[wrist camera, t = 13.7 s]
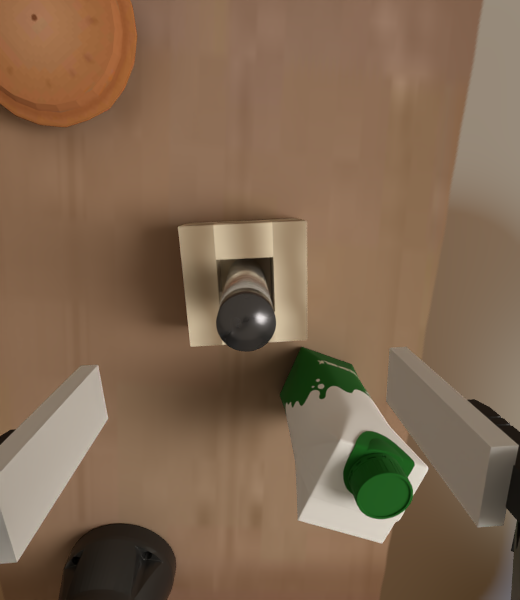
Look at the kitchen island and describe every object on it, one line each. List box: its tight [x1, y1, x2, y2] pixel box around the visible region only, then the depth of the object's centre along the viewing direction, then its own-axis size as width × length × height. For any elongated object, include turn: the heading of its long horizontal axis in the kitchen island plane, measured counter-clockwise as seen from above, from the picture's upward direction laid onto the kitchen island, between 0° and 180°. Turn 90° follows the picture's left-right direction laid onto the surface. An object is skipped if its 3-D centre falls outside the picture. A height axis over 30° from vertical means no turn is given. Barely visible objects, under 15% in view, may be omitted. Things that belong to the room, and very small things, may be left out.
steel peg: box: [216, 258, 276, 351], centre depth 30 cm, size 4×4×16 cm
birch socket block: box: [178, 218, 307, 347], centre depth 36 cm, size 12×12×6 cm
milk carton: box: [280, 347, 428, 543], centre depth 34 cm, size 9×9×20 cm
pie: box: [0, 0, 137, 127], centre depth 30 cm, size 15×16×5 cm
